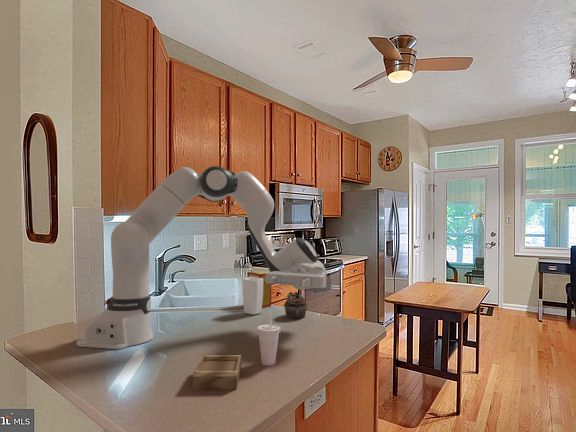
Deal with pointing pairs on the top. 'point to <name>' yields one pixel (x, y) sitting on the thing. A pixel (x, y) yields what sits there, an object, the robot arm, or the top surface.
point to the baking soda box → (266, 287)
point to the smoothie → (268, 342)
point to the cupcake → (295, 306)
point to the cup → (252, 295)
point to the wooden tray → (217, 372)
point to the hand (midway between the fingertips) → (286, 282)
